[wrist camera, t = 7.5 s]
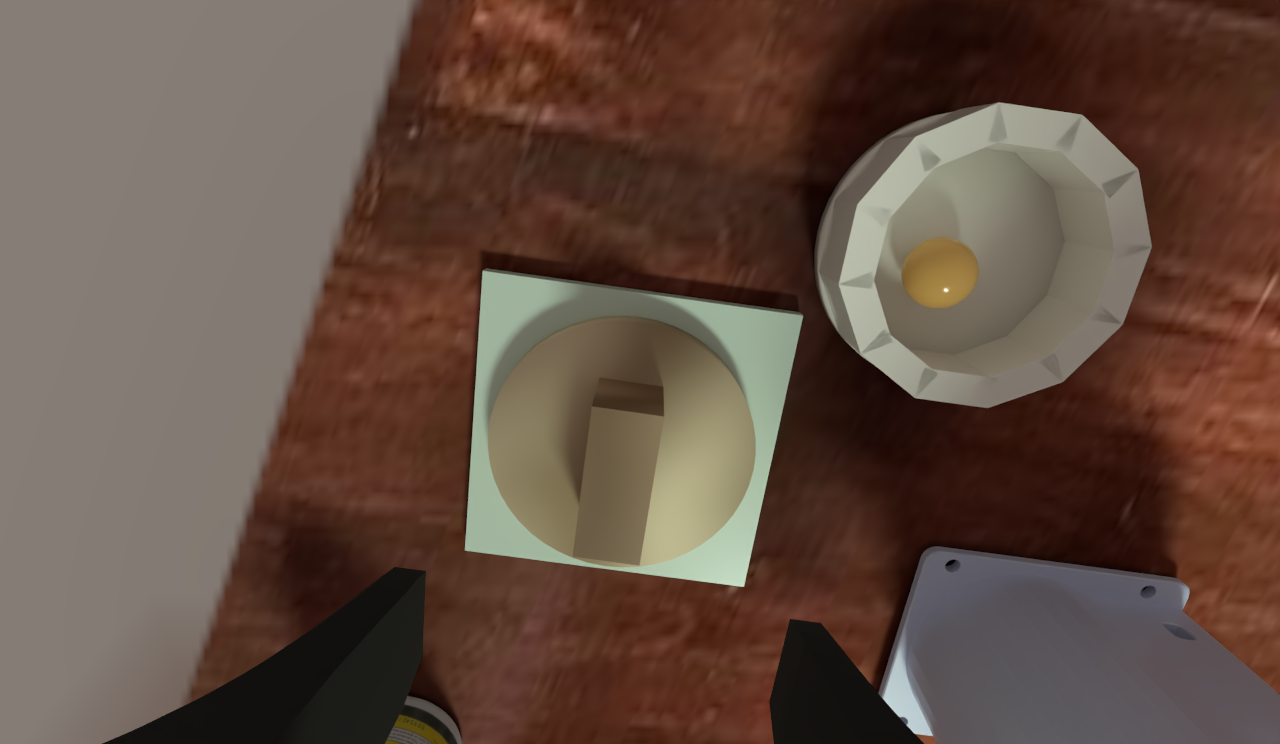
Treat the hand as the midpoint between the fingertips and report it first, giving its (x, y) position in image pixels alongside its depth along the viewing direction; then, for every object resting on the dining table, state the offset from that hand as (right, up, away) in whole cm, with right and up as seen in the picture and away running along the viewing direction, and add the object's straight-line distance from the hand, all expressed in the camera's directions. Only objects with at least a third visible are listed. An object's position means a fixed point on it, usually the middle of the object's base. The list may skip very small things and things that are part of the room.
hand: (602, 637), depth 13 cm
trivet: (0, +3, +9) cm, 10 cm away
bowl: (+10, +9, +7) cm, 15 cm away
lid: (0, +3, +9) cm, 9 cm away
